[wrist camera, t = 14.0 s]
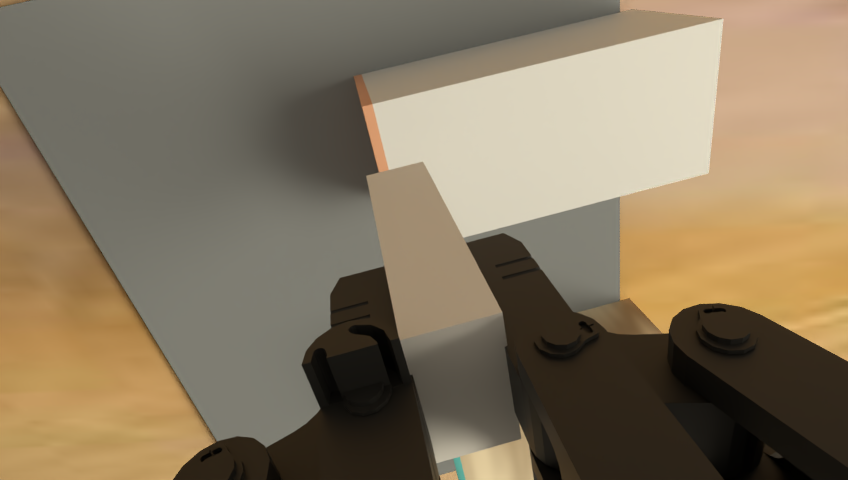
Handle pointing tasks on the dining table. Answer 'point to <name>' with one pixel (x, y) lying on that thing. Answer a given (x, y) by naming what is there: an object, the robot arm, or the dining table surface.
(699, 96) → the cream painted block
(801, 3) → the dining table surface
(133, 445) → the dining table surface
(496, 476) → the birch block
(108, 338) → the dining table surface
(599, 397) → the robot arm
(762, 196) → the dining table surface
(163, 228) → the rubber mat
